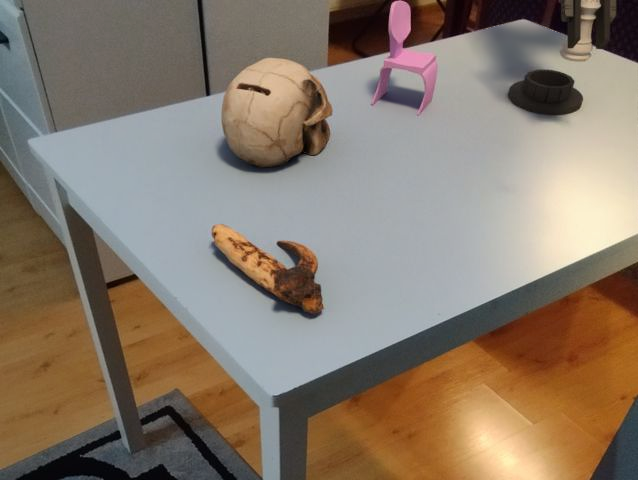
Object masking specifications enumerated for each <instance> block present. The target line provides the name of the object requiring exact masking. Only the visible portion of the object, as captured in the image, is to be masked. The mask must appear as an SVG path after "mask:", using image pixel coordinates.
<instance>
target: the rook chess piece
mask: <svg viewBox="0 0 638 480" xmlns="http://www.w3.org/2000/svg"><path fill="white" fill-rule="evenodd" d="M600 7H601V4H600V0H581V39H580V40H579V42H578V43H577V44H576V45H575V46H574V48H567V47H568V35H567V36H566V39H565V40H563V42H562V44H561V49H560V50H559V55H560V57H561V58H563V59H564V60H565V61H566V60H567V61H569V62H575V63H578V62H579V63H581V62H586V61H588V60H589V59H590V58H592V54H591V52H592V51H593V49H594V45H593V43H592V41H593V39H592V30H593V24H594V21H595V20H596V11H597V10H598V9H599V8H600Z"/></svg>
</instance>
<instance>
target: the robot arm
mask: <svg viewBox="0 0 638 480" xmlns="http://www.w3.org/2000/svg"><path fill="white" fill-rule="evenodd" d="M557 1H558V3H559V4H560V19H561V21H562V23H567V36H568V47H567V48H574V46H575V45H576V44H577V43H578V42H579V40H580V39H581V0H557ZM600 4H601V7H600V8H599V9H598V10H597V11H596V12H595V15H596V18H595V50H602V49H603V48H604V47H605V46H606V45H607V44H608V43H609V41H610V40H611V23H612V22H613V21H614V19H615V18H616V16H617V0H600Z"/></svg>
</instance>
